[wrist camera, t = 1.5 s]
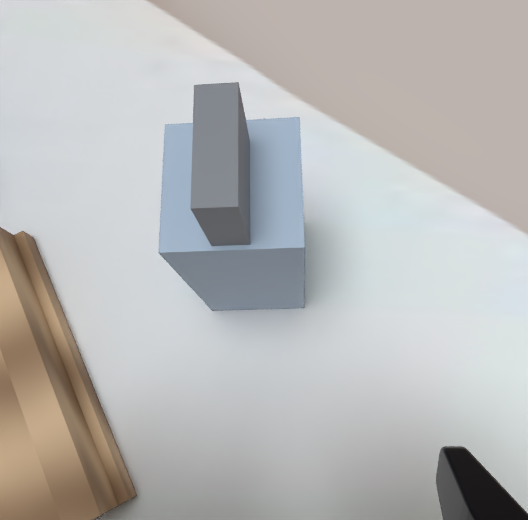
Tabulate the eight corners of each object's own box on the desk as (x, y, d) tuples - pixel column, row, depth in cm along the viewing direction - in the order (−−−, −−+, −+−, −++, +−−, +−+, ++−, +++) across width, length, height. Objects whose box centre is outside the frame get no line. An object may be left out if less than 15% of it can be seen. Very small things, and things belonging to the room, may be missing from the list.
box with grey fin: (304, 308, 24) (305, 209, 12) (212, 310, 24) (124, 216, 12) (300, 221, 25) (299, 54, 13) (213, 224, 26) (136, 65, 14)
